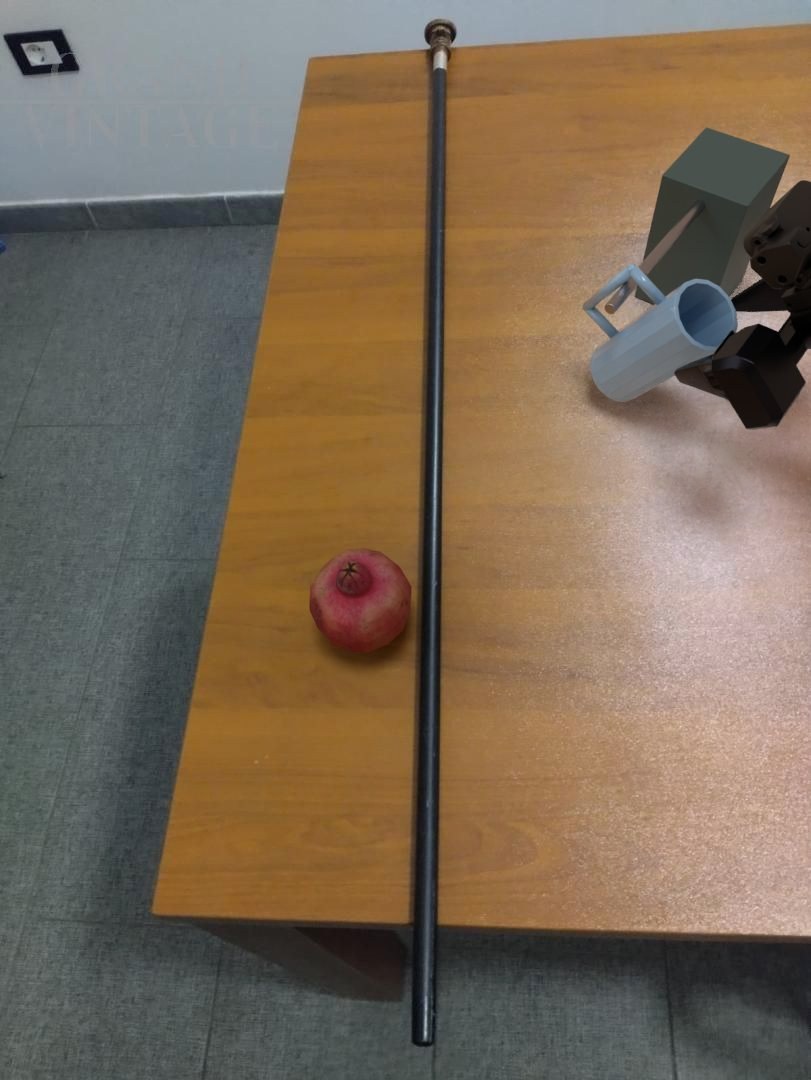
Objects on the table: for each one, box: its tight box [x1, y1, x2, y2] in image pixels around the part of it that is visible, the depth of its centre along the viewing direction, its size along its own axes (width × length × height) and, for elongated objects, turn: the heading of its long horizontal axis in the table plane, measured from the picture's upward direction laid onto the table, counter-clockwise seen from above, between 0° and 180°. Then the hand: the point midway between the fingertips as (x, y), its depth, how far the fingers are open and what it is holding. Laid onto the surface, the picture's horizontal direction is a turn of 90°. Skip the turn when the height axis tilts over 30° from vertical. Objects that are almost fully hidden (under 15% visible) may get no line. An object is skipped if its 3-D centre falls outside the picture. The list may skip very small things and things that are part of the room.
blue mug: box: [582, 263, 739, 403], centre depth 64 cm, size 10×6×12 cm, turn 51°
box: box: [604, 127, 791, 315], centre depth 69 cm, size 8×23×14 cm, turn 142°
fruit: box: [308, 547, 413, 653], centre depth 59 cm, size 8×8×10 cm
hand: (705, 339), depth 61 cm, fingers open, 9 cm apart
